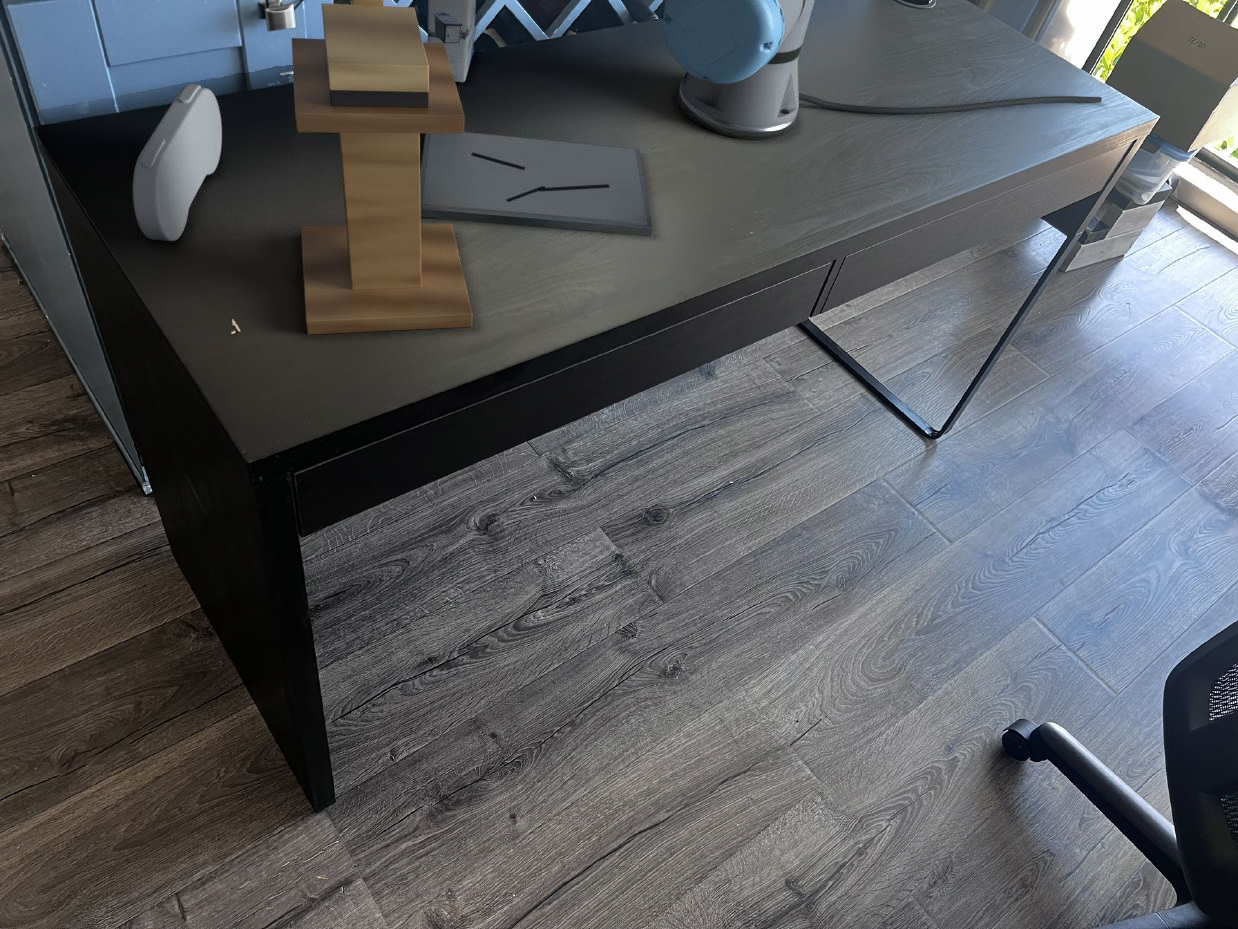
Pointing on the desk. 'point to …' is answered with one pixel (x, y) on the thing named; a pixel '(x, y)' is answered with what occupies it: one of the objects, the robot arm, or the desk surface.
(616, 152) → the whiteboard
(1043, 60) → the desk surface
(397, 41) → the eraser
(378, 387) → the desk surface
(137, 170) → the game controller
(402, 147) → the shelf stand
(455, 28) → the ink box
